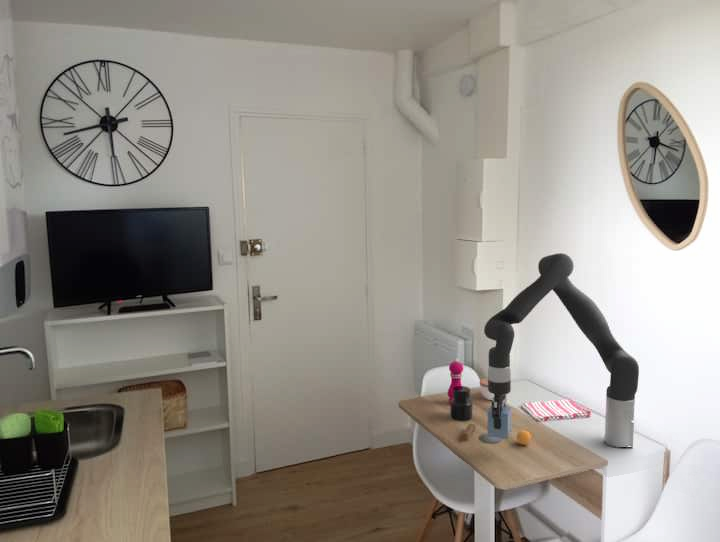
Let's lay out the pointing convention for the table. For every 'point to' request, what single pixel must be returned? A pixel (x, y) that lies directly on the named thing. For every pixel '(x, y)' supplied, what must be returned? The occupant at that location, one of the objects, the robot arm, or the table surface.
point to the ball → (523, 437)
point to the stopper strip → (468, 432)
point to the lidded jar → (485, 389)
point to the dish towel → (555, 410)
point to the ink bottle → (461, 404)
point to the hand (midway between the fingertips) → (499, 424)
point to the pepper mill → (455, 377)
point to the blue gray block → (505, 423)
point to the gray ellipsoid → (489, 439)
